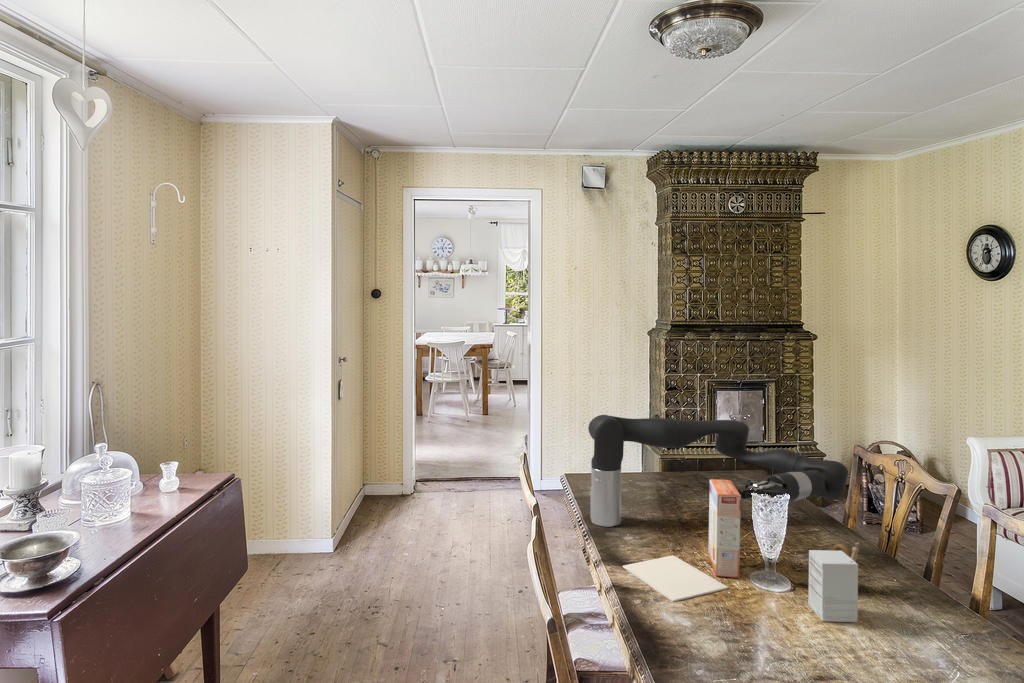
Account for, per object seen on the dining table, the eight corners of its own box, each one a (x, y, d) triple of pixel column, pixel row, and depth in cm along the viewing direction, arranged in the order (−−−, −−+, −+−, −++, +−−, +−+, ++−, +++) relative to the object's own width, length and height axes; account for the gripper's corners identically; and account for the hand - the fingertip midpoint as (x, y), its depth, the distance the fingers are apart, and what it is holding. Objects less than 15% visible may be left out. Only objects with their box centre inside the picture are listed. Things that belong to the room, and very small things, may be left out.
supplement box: (841, 606, 130) (843, 549, 129) (858, 623, 122) (859, 564, 122) (807, 604, 130) (808, 548, 130) (821, 621, 123) (822, 562, 122)
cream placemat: (622, 567, 150) (622, 565, 150) (673, 556, 156) (673, 555, 156) (672, 601, 132) (672, 600, 132) (727, 588, 138) (727, 586, 138)
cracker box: (740, 579, 143) (741, 494, 142) (715, 577, 144) (715, 493, 143) (731, 556, 157) (732, 479, 156) (707, 554, 158) (708, 477, 157)
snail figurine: (850, 596, 134) (851, 545, 133) (824, 585, 139) (824, 536, 139) (864, 591, 136) (865, 540, 136) (838, 580, 142) (839, 532, 141)
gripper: (769, 467, 164) (721, 474, 158) (810, 479, 152) (759, 487, 145) (769, 493, 165) (721, 501, 158) (809, 507, 152) (759, 516, 146)
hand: (739, 494), depth 152 cm, fingers closed
